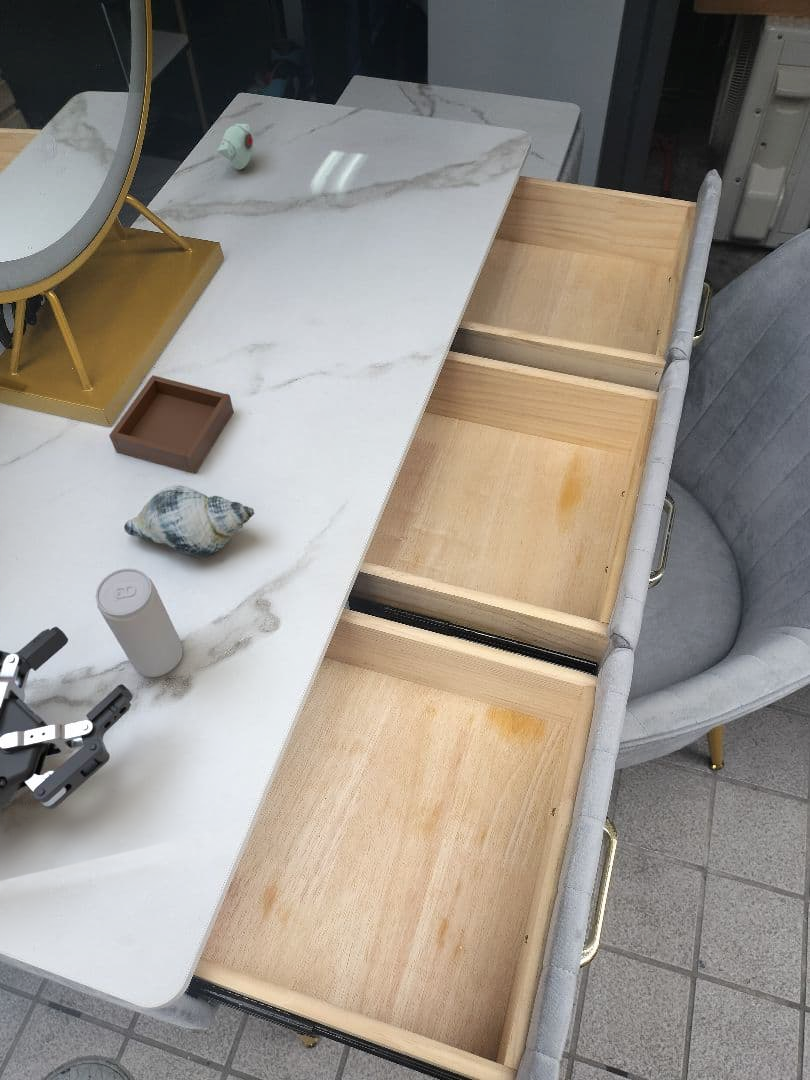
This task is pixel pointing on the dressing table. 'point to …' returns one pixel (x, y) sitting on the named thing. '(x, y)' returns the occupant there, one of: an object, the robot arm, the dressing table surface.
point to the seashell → (189, 520)
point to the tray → (172, 424)
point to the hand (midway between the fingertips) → (94, 660)
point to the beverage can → (139, 621)
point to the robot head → (237, 145)
